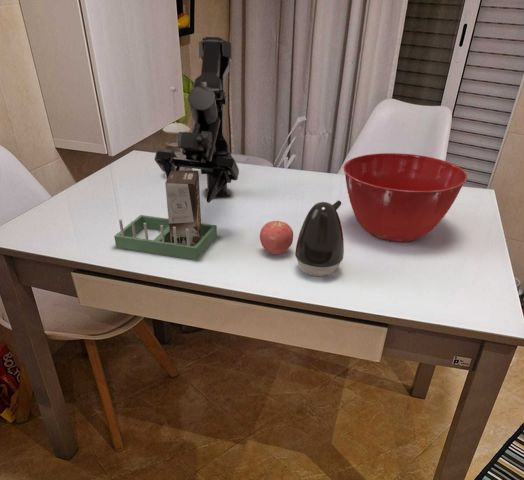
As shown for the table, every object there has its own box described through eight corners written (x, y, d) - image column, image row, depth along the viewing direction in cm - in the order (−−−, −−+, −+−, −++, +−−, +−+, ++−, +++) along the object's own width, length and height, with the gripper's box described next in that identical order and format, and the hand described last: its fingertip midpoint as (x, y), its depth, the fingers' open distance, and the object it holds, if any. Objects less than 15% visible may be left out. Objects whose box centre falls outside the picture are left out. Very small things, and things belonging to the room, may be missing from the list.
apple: (298, 253, 114) (301, 220, 109) (275, 263, 110) (276, 229, 106) (277, 242, 119) (278, 210, 114) (253, 251, 115) (254, 218, 110)
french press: (160, 179, 153) (150, 88, 138) (171, 167, 162) (163, 81, 147) (190, 181, 152) (184, 90, 137) (200, 169, 161) (196, 83, 146)
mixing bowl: (324, 244, 119) (331, 179, 109) (349, 203, 140) (356, 146, 131) (446, 265, 111) (465, 197, 102) (453, 219, 133) (469, 159, 123)
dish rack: (142, 226, 125) (138, 199, 121) (217, 236, 121) (216, 209, 116) (116, 248, 115) (111, 219, 111) (197, 260, 111) (195, 231, 106)
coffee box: (199, 254, 113) (194, 183, 103) (170, 253, 113) (163, 182, 103) (203, 237, 120) (199, 169, 111) (176, 236, 120) (170, 169, 111)
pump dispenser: (351, 271, 108) (361, 203, 99) (320, 287, 102) (327, 216, 93) (315, 255, 114) (321, 189, 105) (284, 270, 108) (288, 201, 99)
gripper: (153, 111, 108) (136, 177, 107) (234, 118, 105) (218, 187, 103) (171, 140, 119) (156, 201, 117) (245, 147, 115) (231, 210, 114)
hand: (188, 199), depth 112 cm, fingers open, 9 cm apart
